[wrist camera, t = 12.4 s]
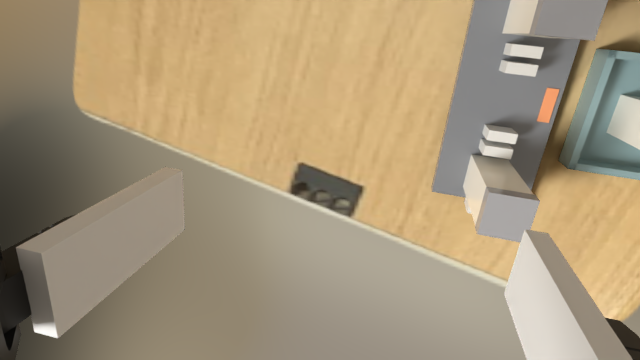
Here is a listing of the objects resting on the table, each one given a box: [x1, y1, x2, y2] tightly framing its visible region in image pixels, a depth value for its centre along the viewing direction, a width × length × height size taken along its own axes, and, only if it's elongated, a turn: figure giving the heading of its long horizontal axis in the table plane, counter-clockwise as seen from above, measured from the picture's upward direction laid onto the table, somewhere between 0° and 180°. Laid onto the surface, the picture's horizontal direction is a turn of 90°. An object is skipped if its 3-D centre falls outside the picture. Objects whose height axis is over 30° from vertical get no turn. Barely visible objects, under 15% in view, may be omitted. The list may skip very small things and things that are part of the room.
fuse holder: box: [432, 0, 580, 213], centre depth 35 cm, size 21×9×4 cm, turn 174°
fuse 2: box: [502, 0, 608, 41], centre depth 28 cm, size 4×4×10 cm
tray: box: [558, 49, 640, 180], centre depth 34 cm, size 10×9×2 cm
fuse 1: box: [463, 154, 540, 242], centre depth 34 cm, size 4×4×10 cm
